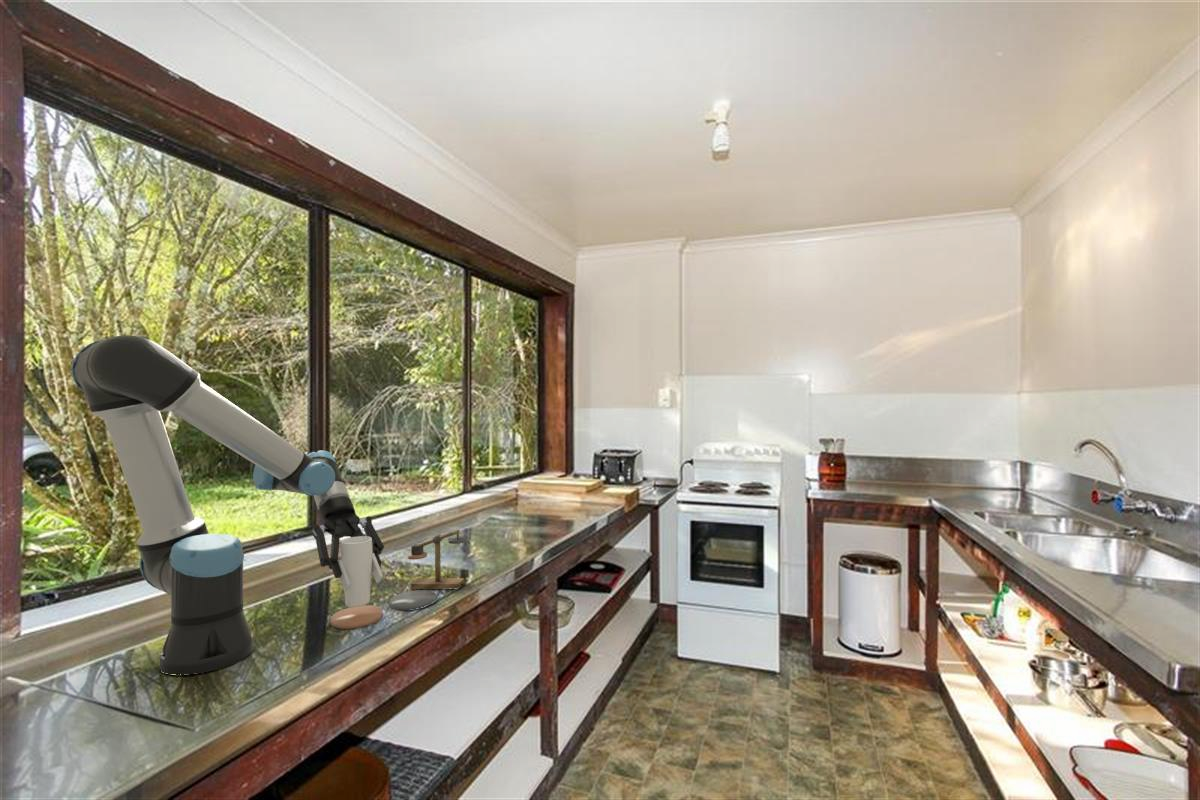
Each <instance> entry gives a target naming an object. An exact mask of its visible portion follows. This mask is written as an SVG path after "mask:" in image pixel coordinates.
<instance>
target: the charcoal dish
mask: <svg viewBox="0 0 1200 800" xmlns="http://www.w3.org/2000/svg"><path fill="white" fill-rule="evenodd" d="M435 600H436V601H437V593H436V592H434V591H433V590H432V591H431V590H410V591H404V592H401V593H399V594H396V595H394V596H392V597H391V598H390V600H389V604H390V605H389V606H390V608H391V609H393V610H396V611H402V610H408V611H411V610H410V609H416V608H421V607H424V606H426V605H429V604H431V603H432V602H434V601H435Z"/></svg>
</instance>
